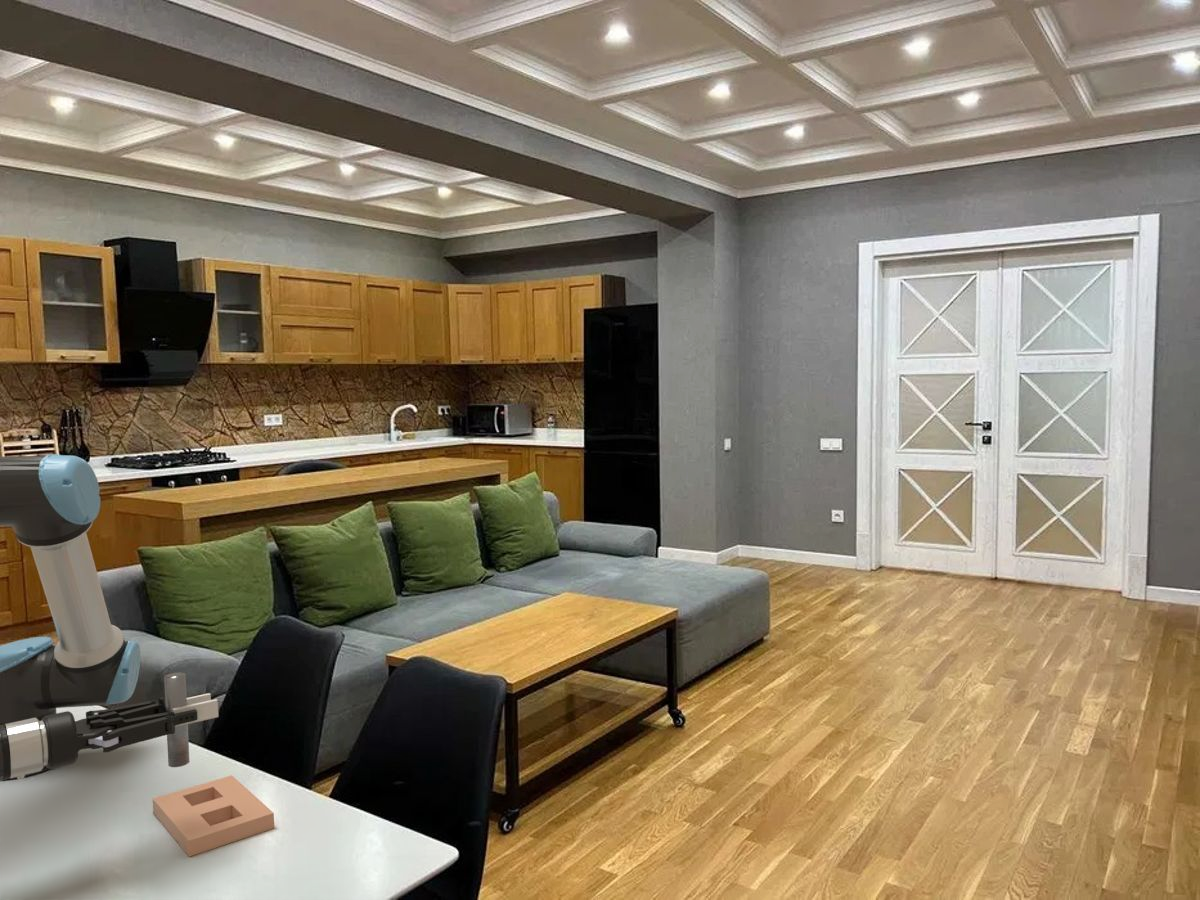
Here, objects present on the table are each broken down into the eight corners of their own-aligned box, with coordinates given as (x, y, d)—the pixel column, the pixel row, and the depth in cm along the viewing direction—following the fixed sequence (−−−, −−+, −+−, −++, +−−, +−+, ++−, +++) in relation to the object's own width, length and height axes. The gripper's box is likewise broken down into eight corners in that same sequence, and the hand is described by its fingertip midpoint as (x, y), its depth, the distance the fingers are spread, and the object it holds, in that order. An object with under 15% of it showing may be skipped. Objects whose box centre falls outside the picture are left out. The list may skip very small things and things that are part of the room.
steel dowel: (166, 762, 141) (161, 675, 140) (186, 757, 143) (182, 671, 142) (171, 768, 139) (167, 680, 138) (191, 763, 140) (187, 675, 140)
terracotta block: (153, 812, 150) (152, 798, 150) (232, 789, 159) (231, 775, 159) (189, 856, 136) (188, 840, 136) (274, 827, 144) (273, 812, 144)
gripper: (35, 751, 135) (200, 714, 150) (53, 787, 123) (231, 742, 138) (32, 703, 135) (198, 670, 150) (50, 734, 122) (229, 694, 137)
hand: (213, 704), depth 144 cm, fingers closed on steel dowel, 3 cm apart
